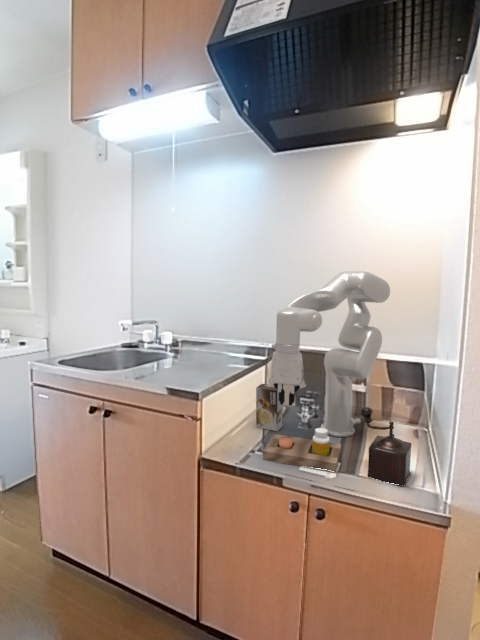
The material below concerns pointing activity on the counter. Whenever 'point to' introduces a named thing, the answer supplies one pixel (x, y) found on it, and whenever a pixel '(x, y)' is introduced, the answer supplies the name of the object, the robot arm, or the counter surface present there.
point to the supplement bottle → (321, 442)
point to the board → (301, 453)
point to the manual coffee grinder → (387, 454)
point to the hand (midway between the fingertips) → (286, 403)
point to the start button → (285, 443)
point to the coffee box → (268, 408)
